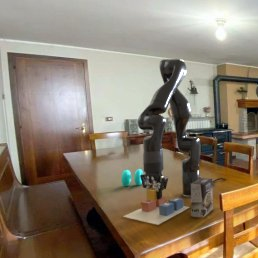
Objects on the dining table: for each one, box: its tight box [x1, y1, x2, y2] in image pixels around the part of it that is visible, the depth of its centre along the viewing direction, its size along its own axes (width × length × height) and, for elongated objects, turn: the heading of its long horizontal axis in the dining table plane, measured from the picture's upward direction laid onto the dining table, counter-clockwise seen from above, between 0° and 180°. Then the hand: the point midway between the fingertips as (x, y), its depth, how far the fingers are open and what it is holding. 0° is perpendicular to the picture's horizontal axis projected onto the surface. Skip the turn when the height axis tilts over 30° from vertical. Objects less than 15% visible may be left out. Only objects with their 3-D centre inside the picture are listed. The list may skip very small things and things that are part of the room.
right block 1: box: [159, 201, 174, 216], centre depth 114 cm, size 4×4×4 cm
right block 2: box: [168, 197, 184, 211], centre depth 120 cm, size 4×4×4 cm
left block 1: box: [140, 199, 156, 212], centre depth 118 cm, size 4×4×4 cm
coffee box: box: [190, 177, 214, 218], centre depth 115 cm, size 9×6×16 cm
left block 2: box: [156, 194, 167, 207], centre depth 123 cm, size 4×4×4 cm
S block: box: [145, 186, 164, 201], centre depth 107 cm, size 4×4×4 cm
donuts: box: [121, 168, 144, 187], centre depth 152 cm, size 10×10×10 cm
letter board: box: [122, 205, 190, 226], centre depth 116 cm, size 19×21×1 cm
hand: (154, 198), depth 108 cm, fingers closed on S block, 4 cm apart
